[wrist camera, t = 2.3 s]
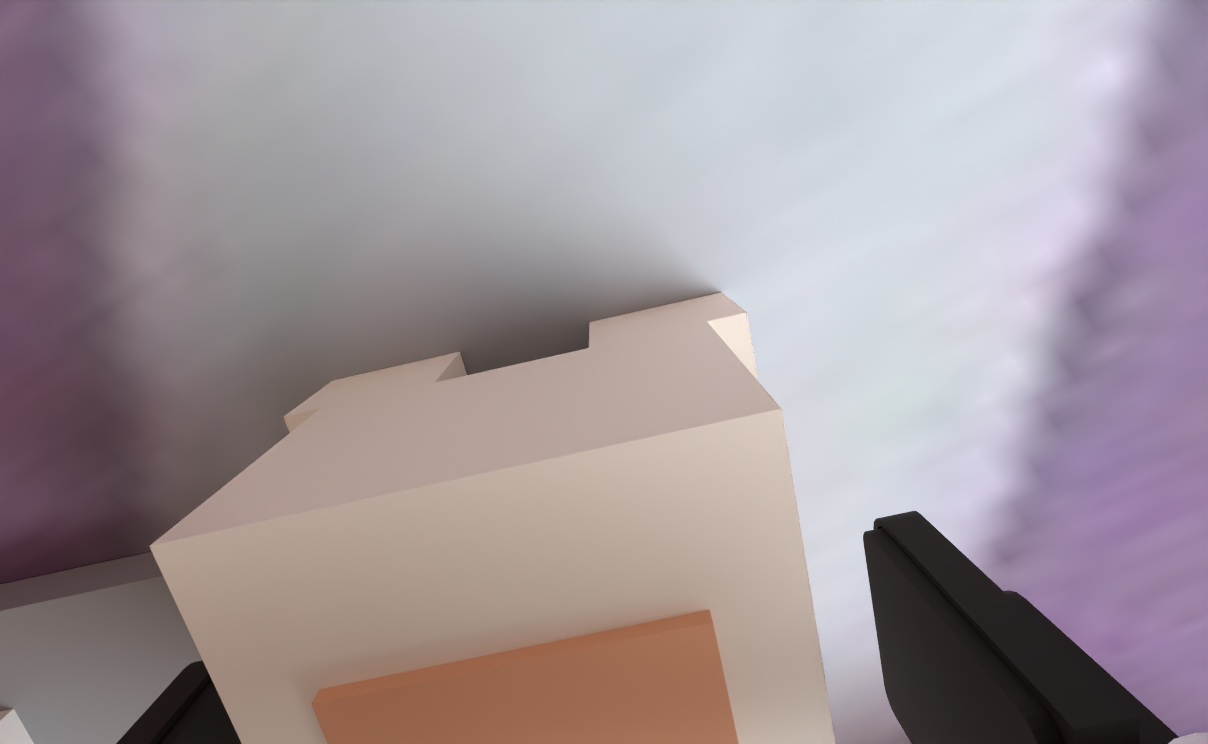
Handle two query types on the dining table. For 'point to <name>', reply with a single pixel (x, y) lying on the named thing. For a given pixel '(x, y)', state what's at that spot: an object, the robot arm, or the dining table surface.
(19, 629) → the rail board
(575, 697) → the block
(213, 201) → the dining table surface
